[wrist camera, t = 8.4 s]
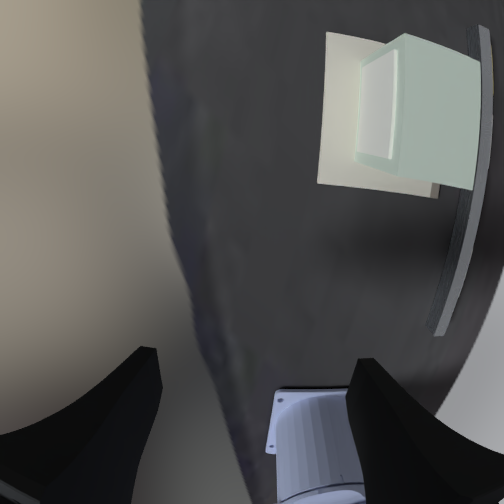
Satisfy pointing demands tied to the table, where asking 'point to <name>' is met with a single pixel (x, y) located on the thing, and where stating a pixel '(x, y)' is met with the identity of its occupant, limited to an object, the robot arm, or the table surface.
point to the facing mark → (352, 123)
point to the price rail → (467, 193)
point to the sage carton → (420, 112)
